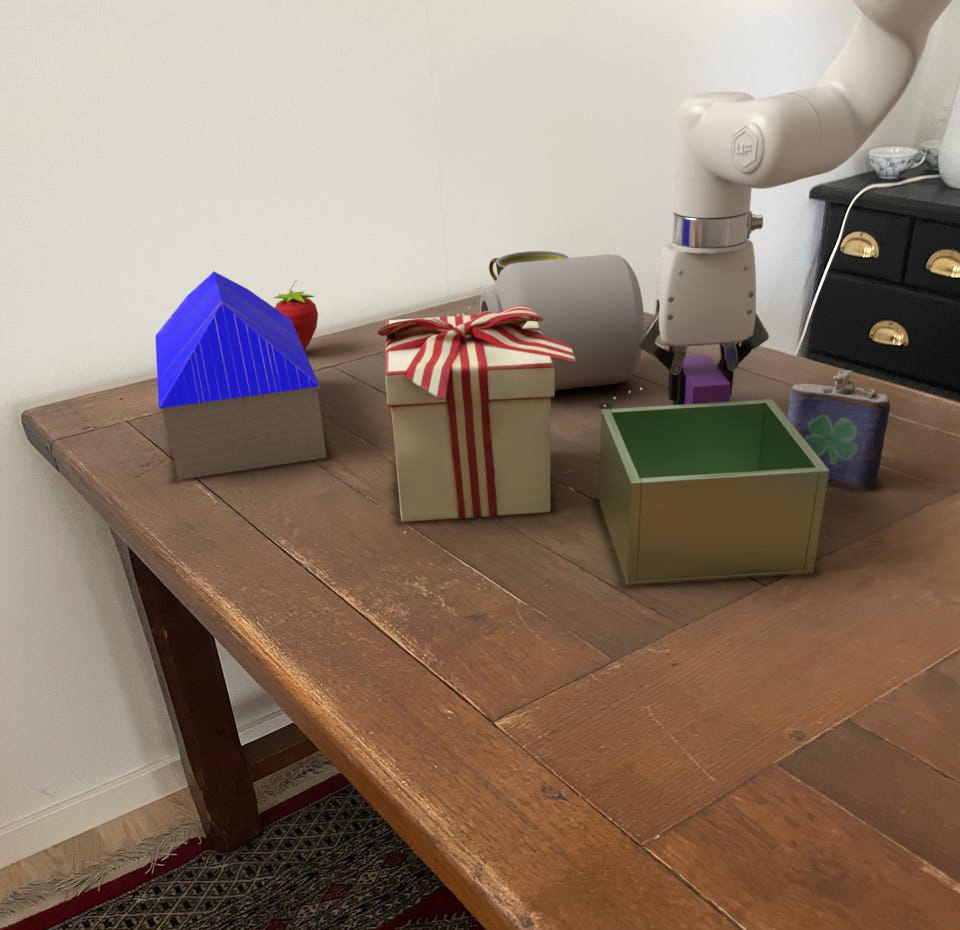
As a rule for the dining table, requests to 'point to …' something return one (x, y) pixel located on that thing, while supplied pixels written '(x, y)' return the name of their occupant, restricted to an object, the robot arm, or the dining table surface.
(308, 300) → the strawberry
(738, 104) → the robot arm
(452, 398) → the gift box
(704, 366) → the purple block
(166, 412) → the house
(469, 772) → the dining table surface
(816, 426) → the flask
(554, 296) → the jar
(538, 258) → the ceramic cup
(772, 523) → the open box
